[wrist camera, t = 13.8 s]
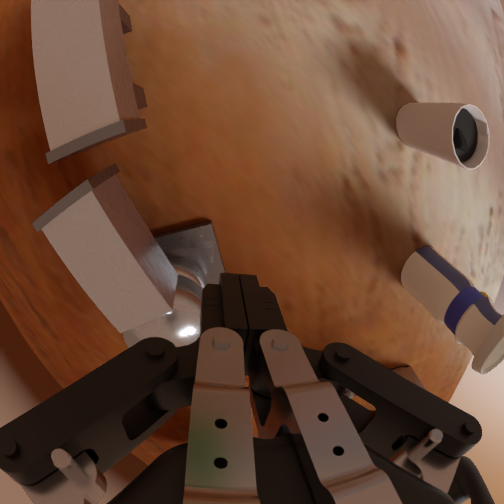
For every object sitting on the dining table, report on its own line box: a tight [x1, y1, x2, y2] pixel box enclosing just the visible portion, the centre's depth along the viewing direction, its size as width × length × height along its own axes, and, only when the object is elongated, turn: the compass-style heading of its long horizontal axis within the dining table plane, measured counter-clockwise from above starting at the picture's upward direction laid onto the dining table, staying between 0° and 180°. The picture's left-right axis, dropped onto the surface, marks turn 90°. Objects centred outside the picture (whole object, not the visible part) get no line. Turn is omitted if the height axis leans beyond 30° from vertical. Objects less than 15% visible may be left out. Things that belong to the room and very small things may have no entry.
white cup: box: [396, 103, 490, 170], centre depth 24 cm, size 7×7×10 cm
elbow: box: [32, 164, 203, 348], centre depth 23 cm, size 19×8×6 cm, turn 25°
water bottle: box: [401, 246, 504, 374], centre depth 27 cm, size 8×8×25 cm
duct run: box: [31, 0, 147, 164], centre depth 17 cm, size 15×6×11 cm, turn 11°
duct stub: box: [153, 221, 226, 289], centre depth 31 cm, size 12×12×5 cm
